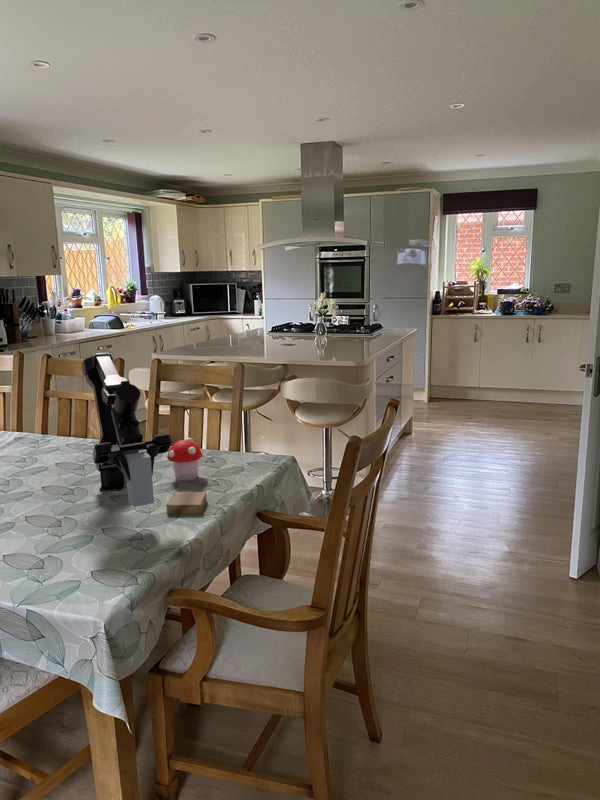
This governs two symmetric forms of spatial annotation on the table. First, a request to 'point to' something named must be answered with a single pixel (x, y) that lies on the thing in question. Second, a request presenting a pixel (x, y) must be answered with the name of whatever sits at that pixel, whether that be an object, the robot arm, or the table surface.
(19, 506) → the table surface
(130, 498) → the pillar
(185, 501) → the pedestal
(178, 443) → the mushroom
